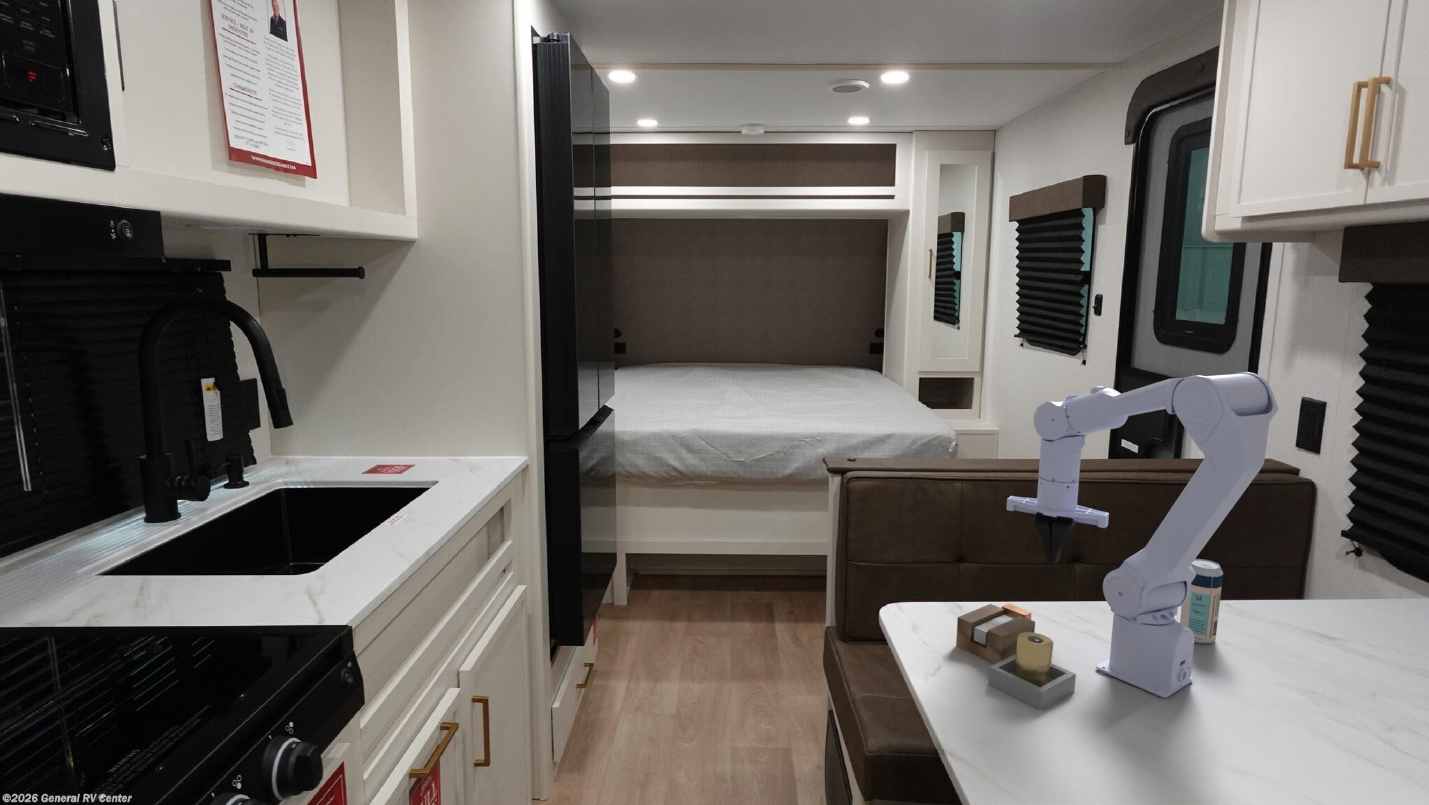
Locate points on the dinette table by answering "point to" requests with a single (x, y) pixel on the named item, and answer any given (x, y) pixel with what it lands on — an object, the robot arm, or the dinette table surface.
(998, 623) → the shaft
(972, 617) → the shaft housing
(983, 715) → the dinette table surface
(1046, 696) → the socket
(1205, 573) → the beer can
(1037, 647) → the pepper mill
